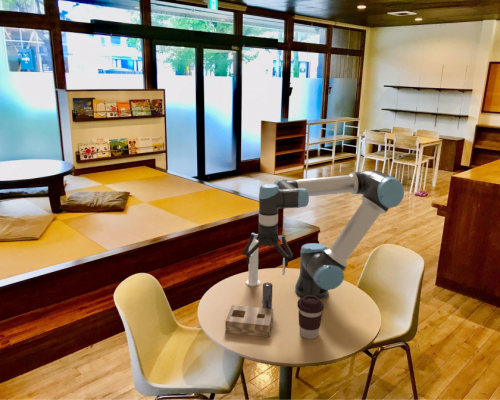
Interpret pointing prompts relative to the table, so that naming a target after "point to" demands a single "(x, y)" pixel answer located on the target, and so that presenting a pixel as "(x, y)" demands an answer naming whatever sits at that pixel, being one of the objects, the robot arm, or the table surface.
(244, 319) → the oak block
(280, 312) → the table surface
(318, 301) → the coffee cup
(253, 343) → the table surface
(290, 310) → the table surface
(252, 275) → the candle
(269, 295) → the steel pin
